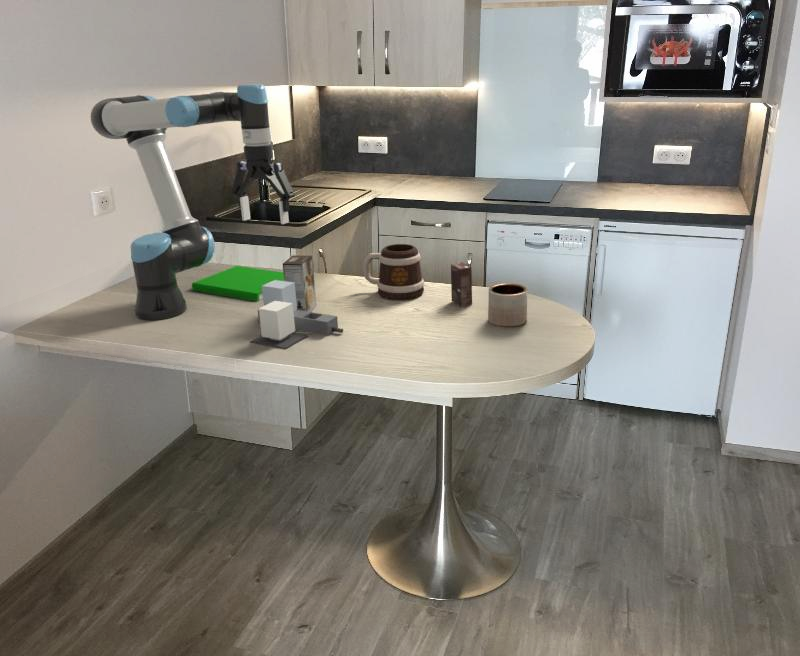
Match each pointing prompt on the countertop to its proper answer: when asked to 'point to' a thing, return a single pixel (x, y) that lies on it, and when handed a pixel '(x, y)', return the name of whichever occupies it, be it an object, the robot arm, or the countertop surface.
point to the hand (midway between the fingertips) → (265, 221)
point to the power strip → (315, 322)
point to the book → (238, 282)
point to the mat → (283, 344)
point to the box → (461, 284)
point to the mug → (397, 272)
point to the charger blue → (279, 292)
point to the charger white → (277, 320)
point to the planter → (507, 305)
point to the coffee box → (301, 280)
